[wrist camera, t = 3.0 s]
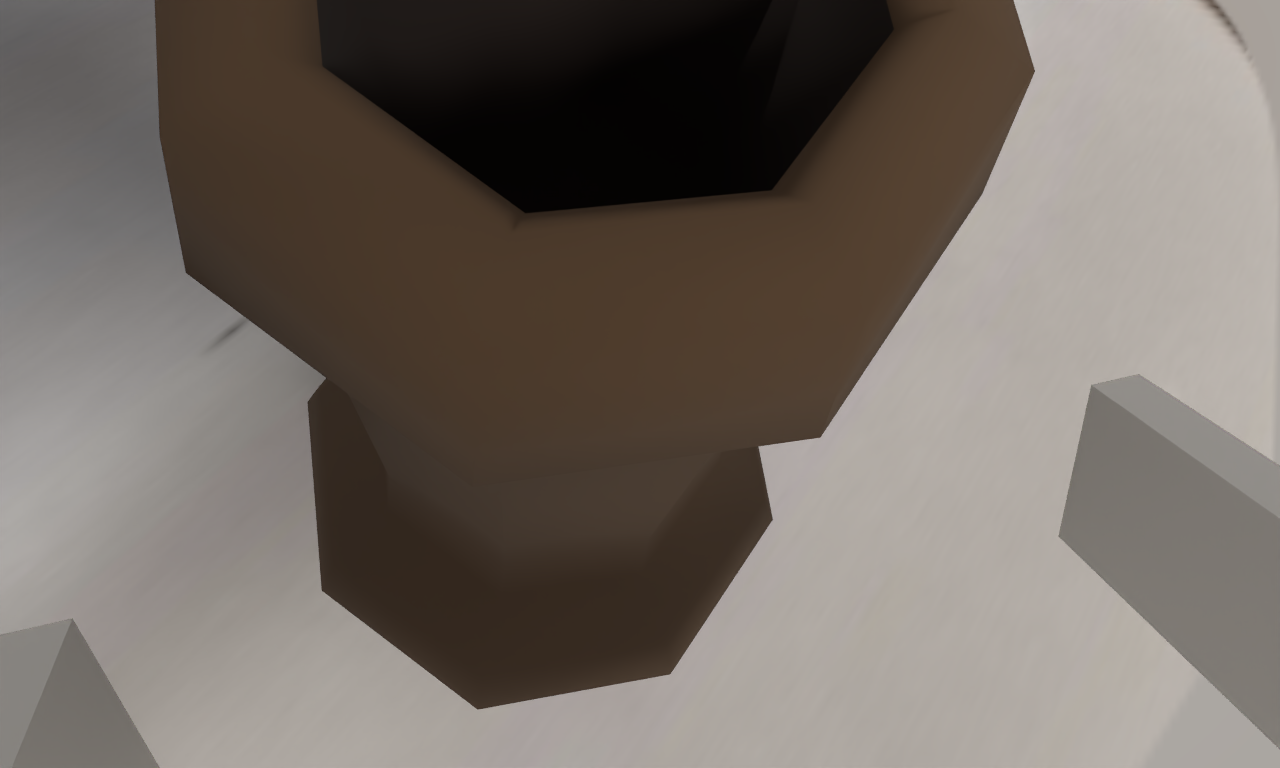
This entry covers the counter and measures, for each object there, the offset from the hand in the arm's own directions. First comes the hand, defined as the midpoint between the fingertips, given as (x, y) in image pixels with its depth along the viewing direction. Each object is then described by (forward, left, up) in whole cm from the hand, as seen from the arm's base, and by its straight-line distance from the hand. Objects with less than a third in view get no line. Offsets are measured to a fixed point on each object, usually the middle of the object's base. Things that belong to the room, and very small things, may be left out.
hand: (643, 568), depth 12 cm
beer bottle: (-1, +2, -15) cm, 15 cm away
